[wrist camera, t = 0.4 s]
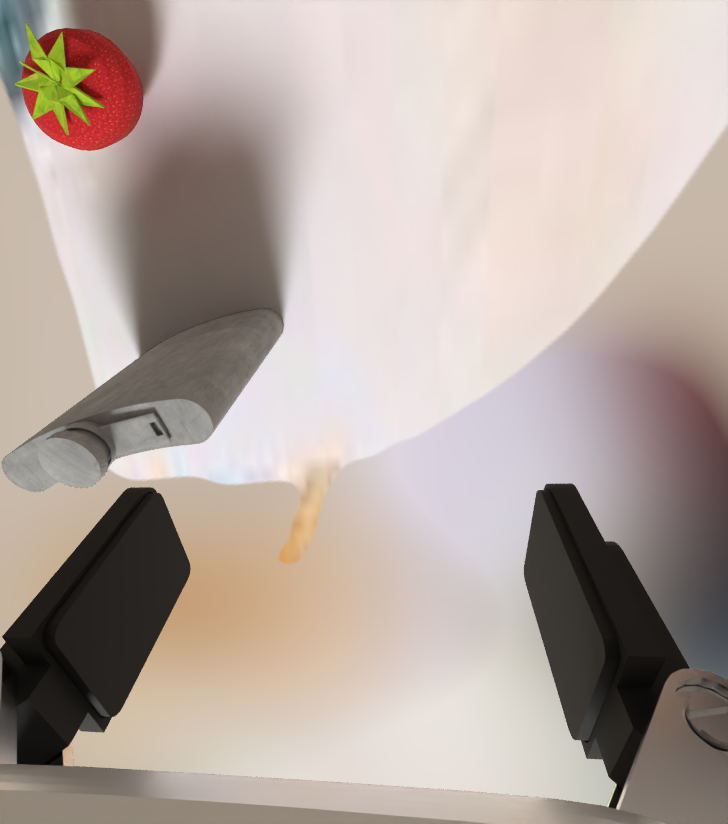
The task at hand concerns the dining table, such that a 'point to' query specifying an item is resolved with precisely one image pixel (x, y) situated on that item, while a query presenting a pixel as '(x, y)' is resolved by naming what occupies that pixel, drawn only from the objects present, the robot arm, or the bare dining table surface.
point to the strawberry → (80, 88)
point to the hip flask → (150, 403)
